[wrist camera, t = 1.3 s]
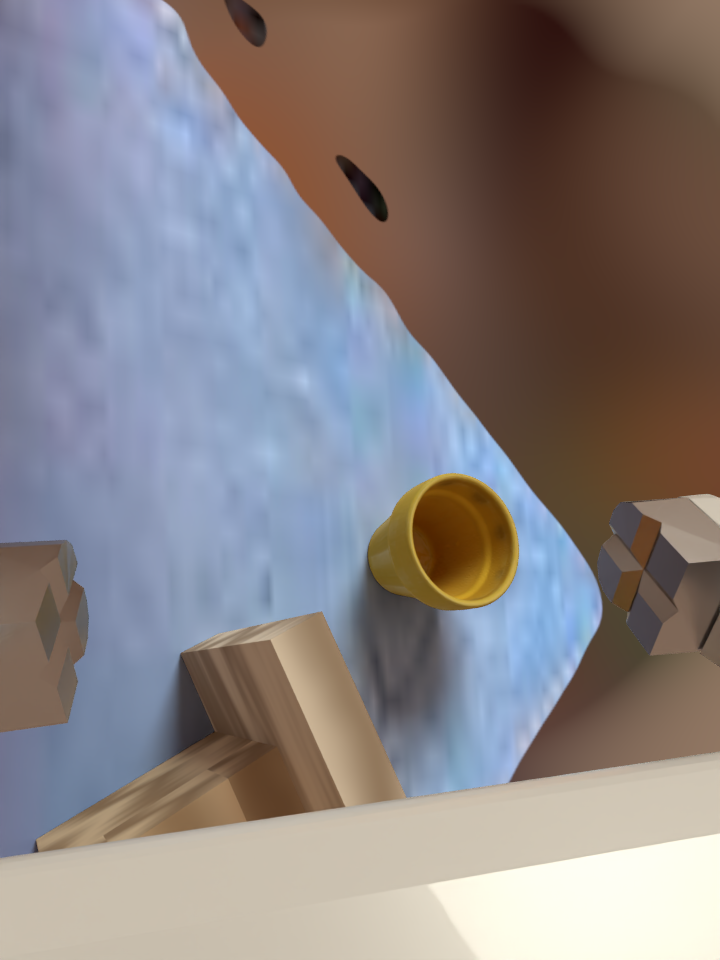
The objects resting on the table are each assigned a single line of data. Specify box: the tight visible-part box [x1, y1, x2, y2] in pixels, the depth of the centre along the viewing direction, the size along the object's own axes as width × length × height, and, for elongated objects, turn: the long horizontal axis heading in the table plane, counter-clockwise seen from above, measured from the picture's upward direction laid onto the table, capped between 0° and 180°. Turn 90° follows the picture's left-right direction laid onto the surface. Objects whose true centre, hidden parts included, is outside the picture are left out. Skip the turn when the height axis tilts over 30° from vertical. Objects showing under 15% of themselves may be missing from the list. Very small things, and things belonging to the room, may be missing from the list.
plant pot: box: [368, 473, 519, 610], centre depth 52 cm, size 10×10×10 cm
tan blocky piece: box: [36, 612, 406, 852], centre depth 34 cm, size 15×24×18 cm, turn 29°
